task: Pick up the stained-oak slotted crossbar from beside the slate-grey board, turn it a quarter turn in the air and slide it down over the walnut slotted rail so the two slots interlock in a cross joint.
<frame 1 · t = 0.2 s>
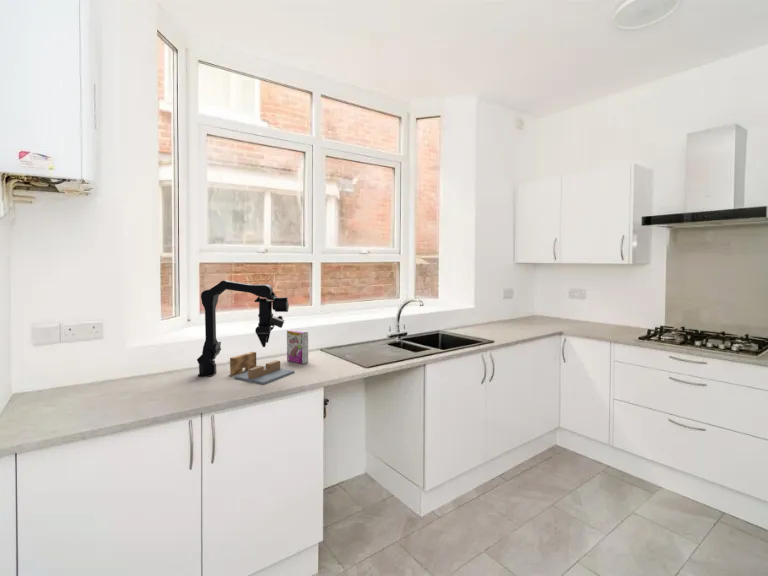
hand: (265, 344, 188), 14 cm above the countertop, fingers open, 9 cm apart
joint board: (264, 375, 187), on the countertop
candy bar box: (297, 362, 211), on the countertop
crossbar: (243, 371, 193), on the countertop
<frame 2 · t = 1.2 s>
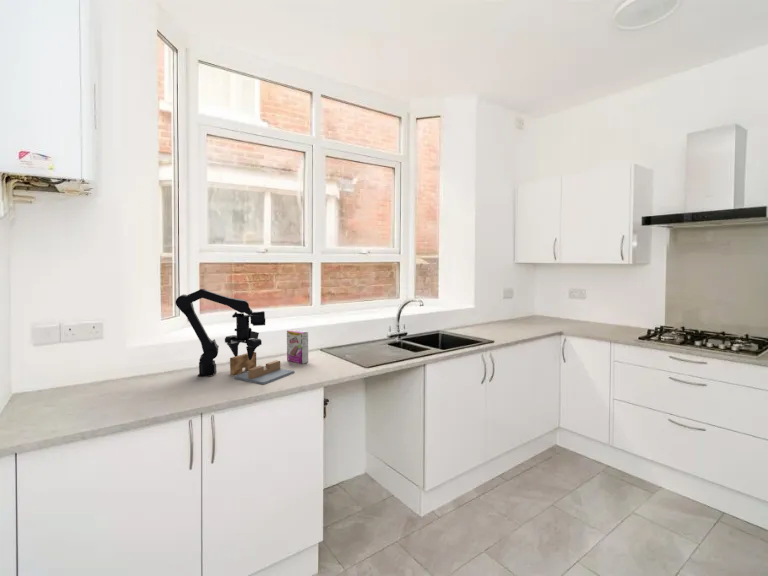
hand: (243, 358, 192), 6 cm above the countertop, fingers open, 9 cm apart
nothing on the countertop moved.
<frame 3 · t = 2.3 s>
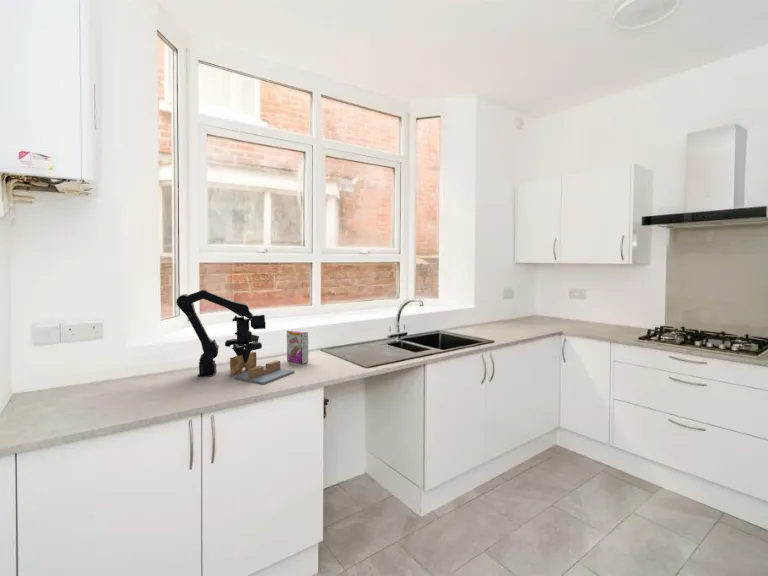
hand: (243, 362, 192), 5 cm above the countertop, fingers closed on crossbar, 2 cm apart
crossbar: (243, 371, 193), on the countertop, touching gripper
everything else where it was.
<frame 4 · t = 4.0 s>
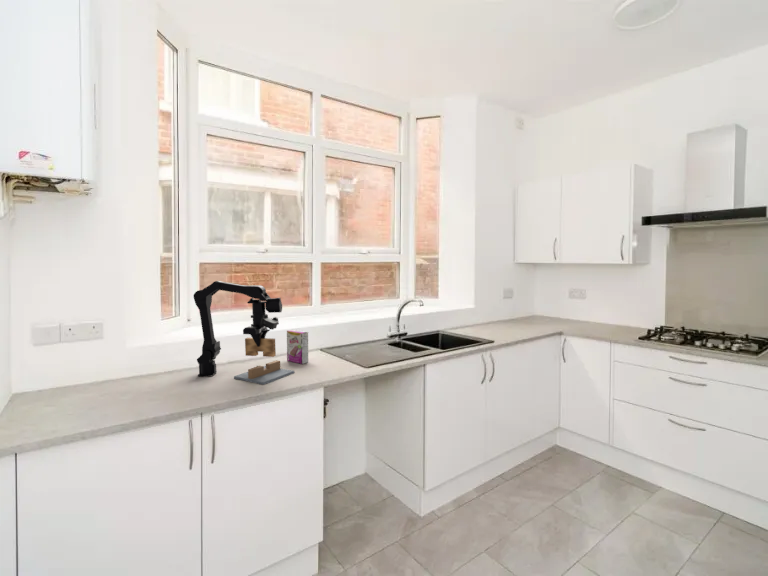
hand: (260, 346, 187), 14 cm above the countertop, fingers closed on crossbar, 2 cm apart
crossbar: (260, 355, 188), point 9 cm above the countertop, touching gripper
everything else where it was.
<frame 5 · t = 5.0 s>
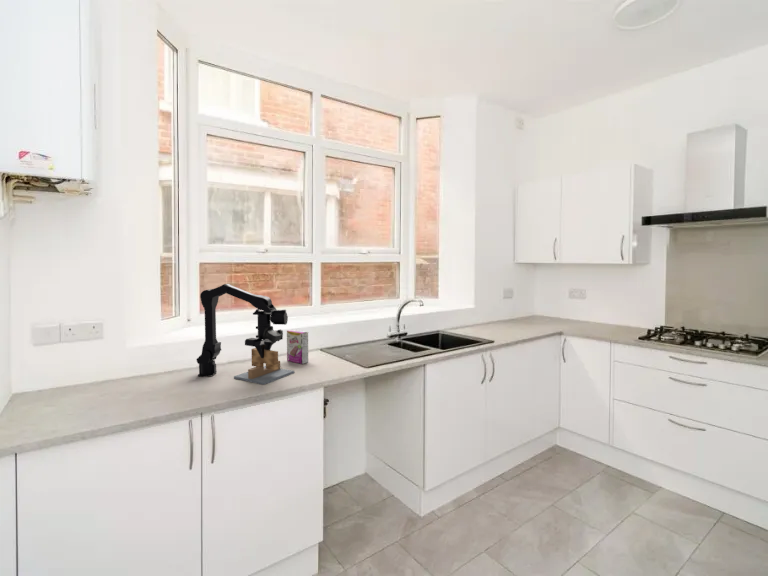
hand: (264, 357, 186), 8 cm above the countertop, fingers closed on crossbar, 2 cm apart
crossbar: (264, 367, 186), point 4 cm above the countertop, touching gripper
everything else where it was.
when the fingers open (6 cm above the countertop, at t = 5.7 s): crossbar stays where it is, resting on joint board.
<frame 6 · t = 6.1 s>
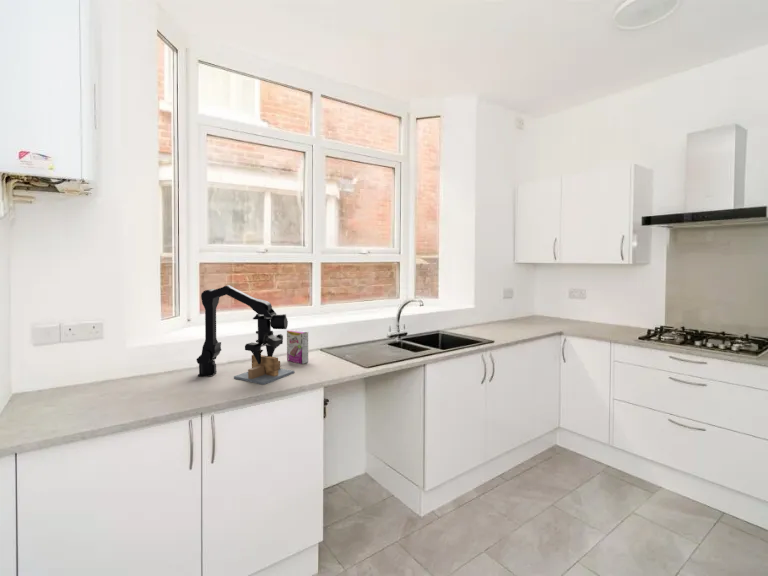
hand: (264, 362, 186), 6 cm above the countertop, fingers open, 6 cm apart
crossbar: (264, 373, 187), point 1 cm above the countertop, touching joint board
everything else where it was.
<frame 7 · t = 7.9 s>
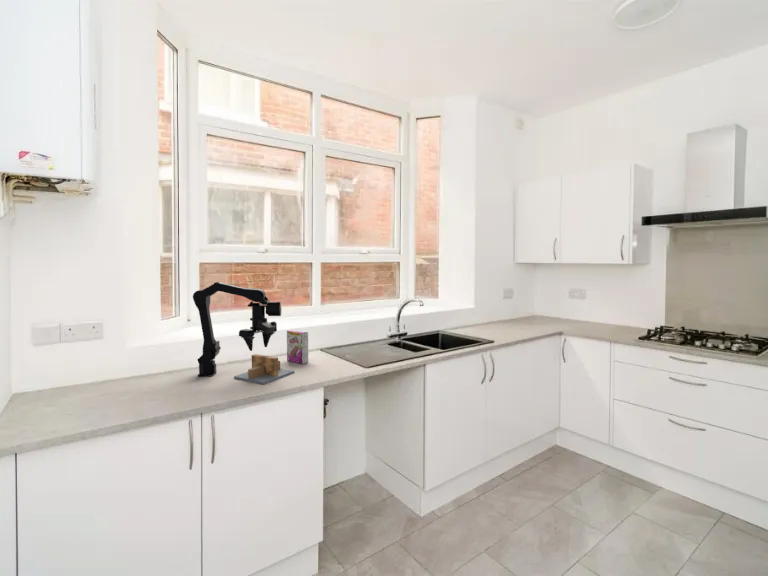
hand: (258, 348, 189), 12 cm above the countertop, fingers open, 9 cm apart
nothing on the countertop moved.
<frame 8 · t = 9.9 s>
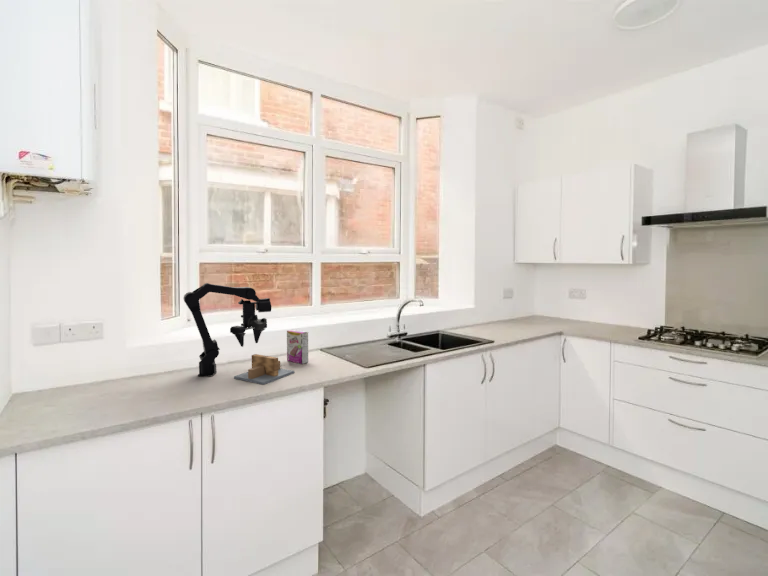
hand: (249, 344, 196), 12 cm above the countertop, fingers open, 9 cm apart
nothing on the countertop moved.
at the end: crossbar 0.0 cm off-centre on the joint board, point 1.0 cm above the joint board's base; crossbar tilted 0°; the gripper is holding nothing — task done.
